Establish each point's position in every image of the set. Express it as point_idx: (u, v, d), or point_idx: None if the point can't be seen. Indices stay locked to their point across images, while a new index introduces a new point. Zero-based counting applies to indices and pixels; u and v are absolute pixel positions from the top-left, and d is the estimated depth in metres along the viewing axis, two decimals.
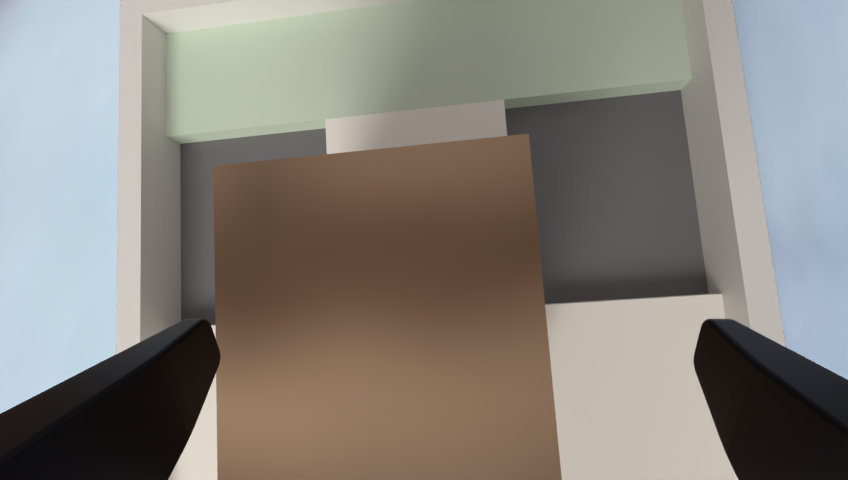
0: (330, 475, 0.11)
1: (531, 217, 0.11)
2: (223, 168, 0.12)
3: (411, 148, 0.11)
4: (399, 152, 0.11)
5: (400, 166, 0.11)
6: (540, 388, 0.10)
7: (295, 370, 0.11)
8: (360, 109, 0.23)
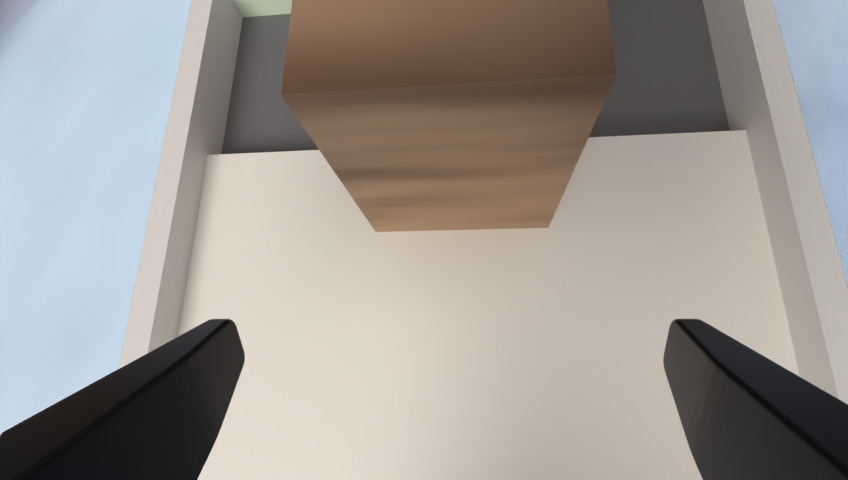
0: (393, 40, 0.12)
1: None
2: None
3: None
4: None
5: None
6: None
7: None
8: None
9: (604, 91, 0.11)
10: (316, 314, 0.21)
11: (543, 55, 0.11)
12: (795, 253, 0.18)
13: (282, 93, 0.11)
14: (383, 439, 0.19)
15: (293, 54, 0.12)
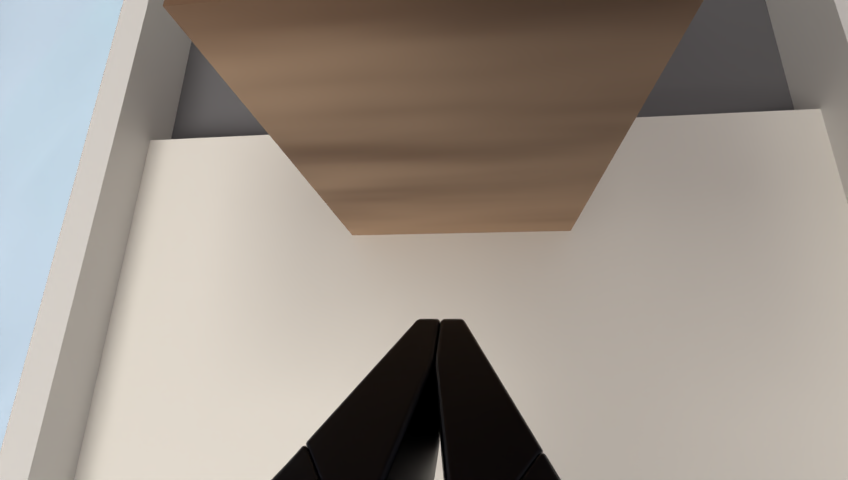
0: None
1: None
2: None
3: None
4: None
5: None
6: None
7: None
8: None
9: None
10: (274, 340, 0.16)
11: None
12: None
13: (164, 4, 0.07)
14: None
15: None
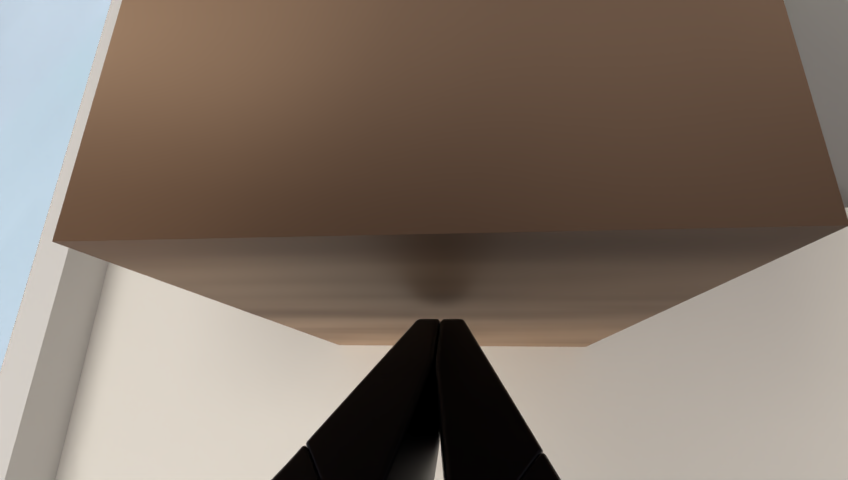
0: (307, 122, 0.05)
1: None
2: None
3: None
4: None
5: None
6: None
7: None
8: None
9: (791, 247, 0.05)
10: (249, 470, 0.14)
11: (653, 168, 0.05)
12: None
13: (55, 240, 0.05)
14: None
15: (94, 148, 0.05)
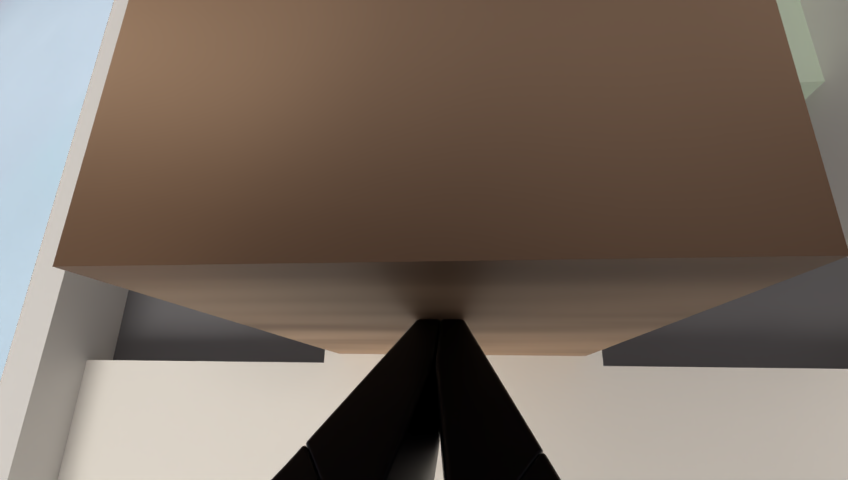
0: (307, 147, 0.05)
1: None
2: None
3: None
4: None
5: None
6: None
7: None
8: None
9: (791, 273, 0.05)
10: None
11: (654, 195, 0.05)
12: None
13: (55, 265, 0.05)
14: None
15: (95, 172, 0.05)
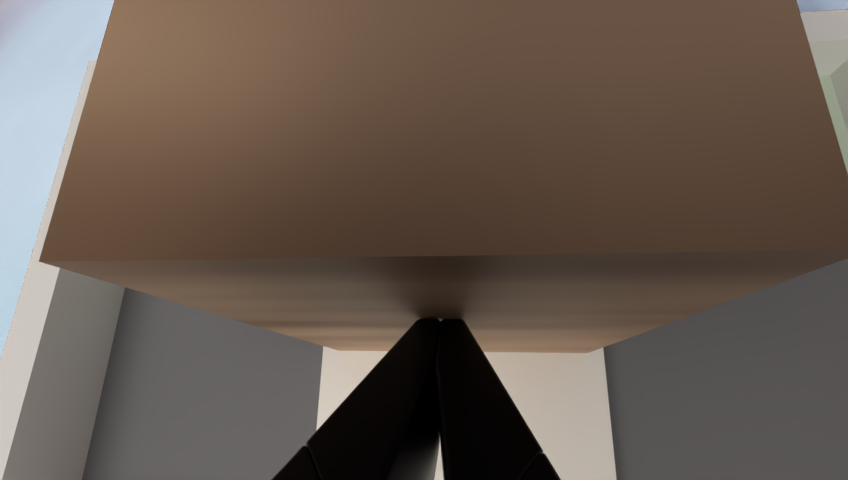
0: (303, 138, 0.05)
1: None
2: None
3: None
4: None
5: None
6: None
7: None
8: None
9: (806, 269, 0.05)
10: None
11: (664, 188, 0.04)
12: None
13: (42, 259, 0.05)
14: None
15: (84, 163, 0.05)
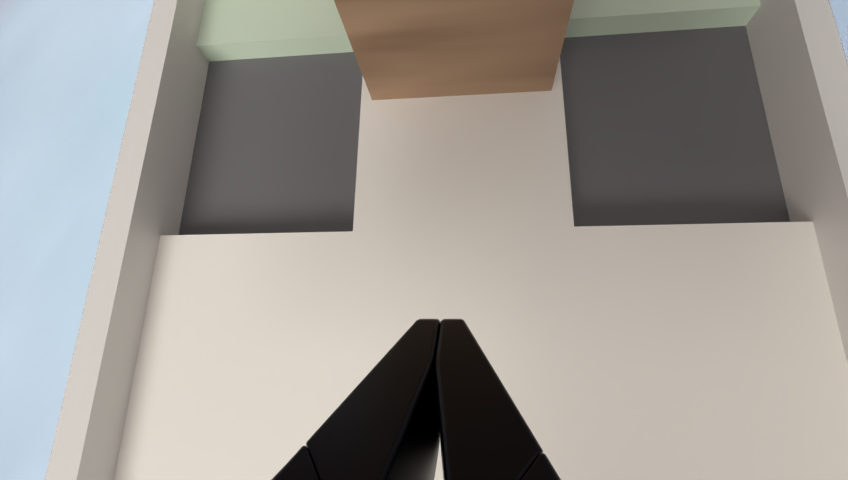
0: None
1: None
2: None
3: None
4: None
5: None
6: None
7: None
8: None
9: None
10: (284, 447, 0.17)
11: None
12: None
13: None
14: None
15: None
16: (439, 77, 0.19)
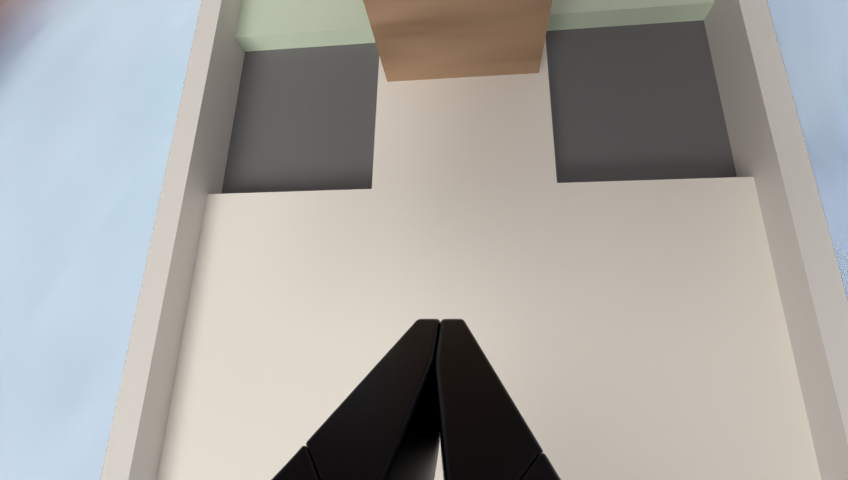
0: None
1: None
2: None
3: None
4: None
5: None
6: None
7: None
8: None
9: None
10: (316, 362, 0.21)
11: None
12: (805, 308, 0.18)
13: None
14: None
15: None
16: (444, 60, 0.23)
